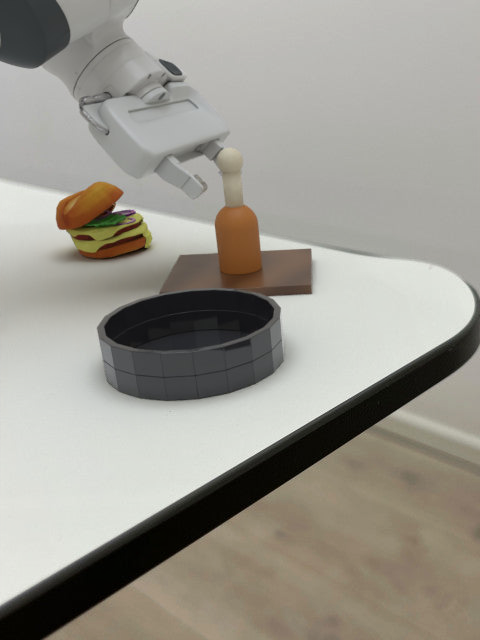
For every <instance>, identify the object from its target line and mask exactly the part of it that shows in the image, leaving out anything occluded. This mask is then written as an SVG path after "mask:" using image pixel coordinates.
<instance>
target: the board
mask: <svg viewBox="0 0 480 640" xmlns="http://www.w3.org/2000/svg"><path fill="white" fill-rule="evenodd" d="M261 259H262V268H261V269H260V270H258V271H255V272H252V273H248V274H237V275H236V274H226V273H223V272H221V271H220V267H219V258H218V252H211V253H193V254H180V255H179V256H178V258H177V260H176V262H175V263H174V265H173V267H172V269H170V270H171V271H170V272H169V274H168V276H167V278H166V280H165V281H164V283H163V285H162V286H161V288H160V291H159V292H158V294H161V293H167V292H173V291H180V290H187V289H200V288H229V289H241V290H246V291H251V292H257V293H260V294H262V295H265V296H267V297H279V296H281V297H282V296H297V295H298V296H301V295H302V296H303V295H313V253H312V248H311V247H310V248H293V249H292V248H291V249H274V250H273V249H272V250H271V249H270V250H261Z"/></svg>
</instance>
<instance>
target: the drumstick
mask: <svg viewBox="0 0 480 640" xmlns="http://www.w3.org/2000/svg"><path fill="white" fill-rule="evenodd" d="M217 165H218V167H219V168H218V167H217V168H218V170H219V169H220V170H221V171H222V176H221V178H222V187H223V194H224V195H223V196H224V206H223V207H222V208H221V209H219V211H218V212H217V214H216V216H215V220H214V231H215V232H214V233H215V240H216V248H217V249H216V250H217V253H218V258H219V267H220V271H221V272H223V273H226V274H236V275H237V274H248V273H252V272H255V271H258V270H260V269H261V268H262V259H261V251H262V250H261V249H262V248H261V239H260V227H259V220H258V217H257V215H256V213H255V212H254V210H253V209H252V208H251V207H249V206H248V205H246V204H245V203H244V195H243V194H244V193H243V192H244V191H243V183H242V173H241V172H240V170H241V169H242V168H243V166H244V158H243V155H242V153H241V152H240V151H239V150H238V149H236V148H234V147H227V148H225V149H223V150H221V151H220V153H219V154H218V156H217ZM217 165H216V166H217ZM220 170H219V171H220Z"/></svg>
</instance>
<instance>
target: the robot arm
mask: <svg viewBox="0 0 480 640" xmlns="http://www.w3.org/2000/svg"><path fill="white" fill-rule="evenodd" d="M139 1H140V0H0V62H1V63H4V64H7V65H10V66H15V67H18V68H23V69H27V70H30V69H31V70H33V69H38V68H40V67H42V68H43V69H44V70H45V71H46V72H48V73H50V74H51V75H53V76H55V77H56V78H58V79H59V80H60V81H61V82H62V83H63V84H64V85H65V87H66V88H67V90H68V92H69V93H70V95H71V96H72V98H73V99H74V100H75V101H76V102H77V103H78V109H79V114H80V116H81V117H82V118H83V119H84V120H85V121H86V122H87V123H88V125H87V127H88V130H89V132H90V134H91V136H92V138H94V140H95V141H96V143H97V144H98V145H99V146H100V147H101V149H102V150H103V151H104V152H105V153H106V154H107V155H108V157H109V158H110V159H111V160H112V161H113V162H114V163H115V164H116V165H117V166H118V167H119V169H121V171H122V172H124V173H125V174H127V175H128V176H130V177H131V178H134V179H136V180H139V179H140V180H141V179H142V178H146V177H149V176H151V175H153V174H157V175H158V177H160V179H162V181H165V182H167V183H168V184H170V185H172V186H173V187H176V188H178V189H179V190H181V191H182V192H184V193H185V194H186V196H187V197H188V198H189V199H191V200H197V199H199V198H200V197H202V196H203V195H204V193H205V192H206V191H207V190H208V188H209V187H208V184H207V182H205V181H203V179H202V178H201V176H199V174H194V175H193V174H192V173H191V172H190V171H188V169H186V168H185V167H183V166H181V164H184V163H187V162H190V161H192V160H195V159H198V158H201V157H204V156H205V157H206V158H207V159H208V160H209V161H213V163H214V164H215V166H216V167H217V169H218V174H219V176H221V177H222V171H221V170H220V169H219V167H218V165H217V156H218V154H219V153H220V151H221V150H223V149H225V148H228V147H227V146H226V144H224V142H225V140H226V139H227V138H228V136H229V135H230V133H231V131H230V127H229V126H228V123H227V122H226V120H225V119H224V118H223V117H222V116H221V114H220V113H219V112H218V111H217V109H215V107H214V105H212V104H211V103H210V101H208V100H207V98H205V97H204V95H203V94H202V93H201V92H200V91H199V90H198V89H197V88H195V87H194V86H193V85H192V84H190V83H188V82H186V79H187V75H188V74H187V73H186V72H185V71H184V70H183V69H182V68H181V67H180V66H179V65H178V64H177V63H175V62H172V61H169V60H165V59H162V58H159V57H158V56H155V55H154V54H152V53H151V52H149V51H147V50H144V49H143V48H142V47H141V46H140V45H139V44H138V43H137V42H136V41H135V40H134V39H133V38H132V37H130V36H129V35H128V34H127V33H126V31H125V29H124V22H125V20H126V19H128V18H129V17H130V15H131V14H132V13H133V12H134V10H135V9H136V7H137V4H138V3H139ZM240 172H241V174H243V169H242V168H241V170H240Z"/></svg>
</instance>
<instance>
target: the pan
mask: <svg viewBox="0 0 480 640" xmlns="http://www.w3.org/2000/svg"><path fill="white" fill-rule="evenodd" d="M283 327H284V326H283V316H282V307H281V306H280V305H279V303H278V302H277V301H276V300H275V299H274V298H272V297H270V296H265V295H262V294H260V293H257V292H251V291H246V290H241V289H229V288H200V289H187V290H180V291H173V292H167V293H161V294H159V293H157V294H153V295H150V296H146V297H142V298H139V299H136V300H134V301H131V302H129V303H126V304H124V305H121V306H118V307H117V308H115V309H113V310H112V311H110V313H108V314H106V315H105V316H104V317H102V319H101V321H100V322H99V323H98V325H97V326H96V331H97V337H98V342H99V348H100V354H101V358H102V364H103V368H104V373H105V380H106V382H107V383H108V384H109V385H110V386H111V387H112V388H113V389H115V390H116V391H118V392H120V393H122V394H125V395H127V396H130V397H134V398H138V399H142V400H143V399H144V400H151V401H164V402H165V401H166V402H169V401H170V402H175V401H178V402H179V401H181V402H182V401H192V400H193V401H194V400H200V399H207V398H208V399H209V398H215V397H218V396H223V395H227V394H231V393H235V392H237V391H240V390H244V389H245V388H248V387H250V386H253V385H255V384H257V383H259V382H261V381H263V380H265V379H266V378H268V377H269V376H271V375H272V374H273V373H275V371H277V370H278V369H279V368H280V366H281V365H282V363H283V362H284V359H285V342H284V341H285V339H284V338H285V337H284V329H283Z"/></svg>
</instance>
